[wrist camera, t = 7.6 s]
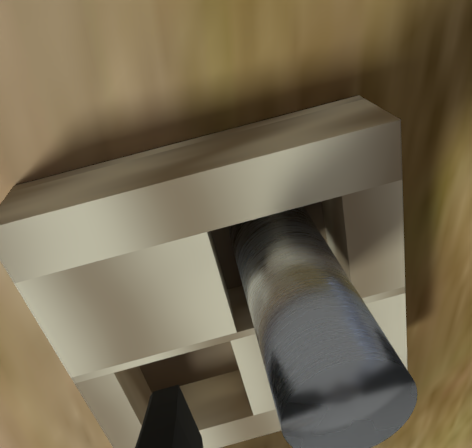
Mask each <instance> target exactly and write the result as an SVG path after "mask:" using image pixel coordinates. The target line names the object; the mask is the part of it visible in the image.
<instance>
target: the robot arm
mask: <svg viewBox="0 0 472 448" xmlns="http://www.w3.org/2000/svg"><path fill="white" fill-rule="evenodd" d="M135 448H203V441H202V436H201V434H200V432H199V430H198V427H197V425H196V423H195V420H194V418H193V416H192V414H191V411H190V409H189V407H188V404H187V402H186V400H185V398H184V395H183V393H182V391H181V389H180V386H179V385H175V386H172V387H168V388H164V389H161V390H157V391H154V392H153V393H152V394H151V396H150V399H149V402H148V406H147V410H146V413H145V417H144V420H143V424H142V427H141V430H140V434H139V437H138V440H137V443H136V446H135Z"/></svg>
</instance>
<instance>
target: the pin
mask: <svg viewBox="0 0 472 448" xmlns="http://www.w3.org/2000/svg"><path fill="white" fill-rule="evenodd" d="M229 235H230V240H231V244H232V247H233V251H234V255H235V259H236V262H237V266H238V270H239V274H240V277H241V281H242V285H243V288H244V292H245V296H246V300H247V303H248V307H249V311H250V315H251V318H252V322H253V326H254V329H255V333H256V337H257V341H258V344H259V348H260V352H261V356H262V359H263V363H264V367H265V370H266V374H267V378H268V382H269V385H270V389H271V393H272V397H273V400H274V404H275V408H276V411H277V415H278V419H279V423H280V426H281V430H282V433H283V436H284V438H285V439H286V441H287V442H288V443H289V444H290V445H291V446H292V447H293V448H371V447H373V446H375V445H377V444H379V443H381V442H383V441H384V440H386V439H387V438H389V437H390V436H392V435H393V434H394V433H395V432H396V431H398V430H399V429H400V428H401V427H402V426H403V425H404V423H405V422H406V421H407V420H408V418H409V417H410V415H411V414H412V412H413V410H414V407H415V404H416V401H417V388H416V385H415V382H414V380H413V378H412V377H411V375H410V374H409V372H408V370H407V369H406V367H405V366H404V364H403V363H402V361H401V359H400V358H399V356H398V355H397V353H396V352H395V350H394V348H393V347H392V345H391V344H390V342H389V341H388V339H387V337H386V336H385V334H384V333H383V331H382V329H381V328H380V326H379V325H378V323H377V322H376V320H375V318H374V317H373V315H372V314H371V312H370V311H369V309H368V307H367V306H366V304H365V303H364V301H363V299H362V298H361V296H360V295H359V293H358V292H357V290H356V288H355V287H354V285H353V284H352V282H351V281H350V279H349V277H348V276H347V274H346V273H345V271H344V270H343V268H342V266H341V265H340V263H339V262H338V260H337V258H336V257H335V255H334V254H333V252H332V251H331V249H330V247H329V246H328V244H327V243H326V241H325V240H324V238H323V236H322V235H321V233H320V232H319V230H318V228H317V227H316V225H315V224H314V222H313V221H312V219H311V217H310V216H309V214H308V213H307V211H306V210H305V208H304V207H303V206H302V207H298V208H295V209H291V210H287V211H283V212H280V213H276V214H272V215H268V216H265V217H261V218H257V219H253V220H250V221H246V222H242V223H239V224H235V225H231V226H230V229H229Z"/></svg>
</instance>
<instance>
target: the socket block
mask: <svg viewBox="0 0 472 448" xmlns="http://www.w3.org/2000/svg"><path fill="white" fill-rule="evenodd" d="M302 206H303V207H304V208H305V210H306V211H307V213H308V214H309V216H310V217H311V219H312V221H313V222H314V224H315V225H316V227H317V228H318V230H319V232H320V233H321V235H322V236H323V238H324V240H325V241H326V243H327V244H328V246H329V247H330V249H331V251H332V252H333V254H334V255H335V257H336V258H337V260H338V262H339V263H340V265H341V266H342V268H343V270H344V271H345V273H346V274H347V276H348V277H349V279H350V281H351V282H352V284H353V285H354V287H355V288H356V290H357V292H358V293H359V295H360V296H361V298H362V299H363V301H364V303H365V304H366V306H367V307H368V309H369V311H370V312H371V314H372V315H373V317H374V318H375V320H376V322H377V323H378V325H379V326H380V328H381V329H382V331H383V333H384V334H385V336H386V337H387V339H388V341H389V342H390V344H391V345H392V347H393V348H394V350H395V352H396V353H397V355H398V356H399V358H400V359H401V361H402V363H403V364H404V366H405V367H406V369H407V336H406V298H405V260H404V222H403V184H402V146H401V119H399V118H398V117H396V116H394V115H392V114H391V113H389V112H387V111H385V110H384V109H382V108H380V107H378V106H377V105H375V104H373V103H371V102H370V101H368V100H366V99H364V98H363V97H361V96H359V95H358V96H355V97H351V98H347V99H343V100H339V101H336V102H332V103H328V104H324V105H320V106H317V107H313V108H309V109H305V110H301V111H297V112H294V113H290V114H286V115H282V116H278V117H275V118H271V119H267V120H263V121H259V122H256V123H252V124H248V125H244V126H240V127H236V128H233V129H229V130H225V131H221V132H217V133H214V134H210V135H206V136H202V137H198V138H195V139H191V140H187V141H183V142H179V143H176V144H172V145H168V146H164V147H160V148H156V149H153V150H149V151H145V152H141V153H137V154H134V155H130V156H126V157H122V158H118V159H115V160H111V161H107V162H103V163H99V164H95V165H92V166H88V167H84V168H80V169H76V170H73V171H69V172H65V173H61V174H57V175H54V176H50V177H46V178H42V179H38V180H35V181H31V182H27V183H23V184H19V185H15V186H13V188H12V189H11V190H10V192H9V193H8V195H7V196H6V197H5V199H4V200H3V201H2V203H1V204H0V261H1V263H2V264H3V266H4V268H5V269H6V271H7V273H8V274H9V276H10V278H11V279H12V281H13V283H14V284H15V286H16V288H17V289H18V291H19V292H20V294H21V296H22V297H23V299H24V301H25V302H26V304H27V306H28V307H29V309H30V311H31V312H32V314H33V316H34V317H35V319H36V321H37V322H38V324H39V326H40V327H41V329H42V331H43V332H44V334H45V336H46V337H47V339H48V340H49V342H50V344H51V345H52V347H53V349H54V350H55V352H56V354H57V355H58V357H59V359H60V360H61V362H62V364H63V365H64V367H65V369H66V370H67V372H68V374H69V375H70V377H71V379H72V380H73V382H74V384H75V385H76V387H77V388H78V390H79V392H80V393H81V395H82V397H83V398H84V400H85V402H86V403H87V405H88V407H89V408H90V410H91V412H92V413H93V415H94V417H95V418H96V420H97V422H98V423H99V425H100V427H101V428H102V430H103V432H104V433H105V435H106V437H107V438H108V440H109V441H110V443H111V445H112V446H113V448H135V446H136V443H137V440H138V437H139V434H140V430H141V427H142V424H143V420H144V417H145V413H146V410H147V406H148V402H149V399H150V396H151V394H152V393H153V392H154V391H157V390H161V389H164V388H168V387H172V386H175V385H179V386H180V389H181V391H182V393H183V395H184V398H185V400H186V402H187V404H188V407H189V409H190V411H191V414H192V416H193V418H194V420H195V423H196V425H197V427H198V430H199V432H200V434H201V436H202V441H203V448H220V447H224V446H228V445H231V444H235V443H238V442H242V441H246V440H249V439H253V438H256V437H260V436H264V435H267V434H271V433H274V432H278V431H281V426H280V423H279V419H278V415H277V411H276V408H275V404H274V400H273V397H272V393H271V389H270V385H269V382H268V378H267V374H266V370H265V367H264V363H263V359H262V356H261V352H260V348H259V344H258V341H257V337H256V333H255V329H254V326H253V322H252V318H251V315H250V311H249V307H248V303H247V300H246V296H245V292H244V288H243V285H242V281H241V277H240V274H239V270H238V266H237V262H236V259H235V255H234V251H233V247H232V244H231V240H230V235H229V229H230V226H231V225H235V224H239V223H242V222H246V221H250V220H253V219H257V218H261V217H265V216H268V215H272V214H276V213H280V212H283V211H287V210H291V209H295V208H298V207H302Z"/></svg>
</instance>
